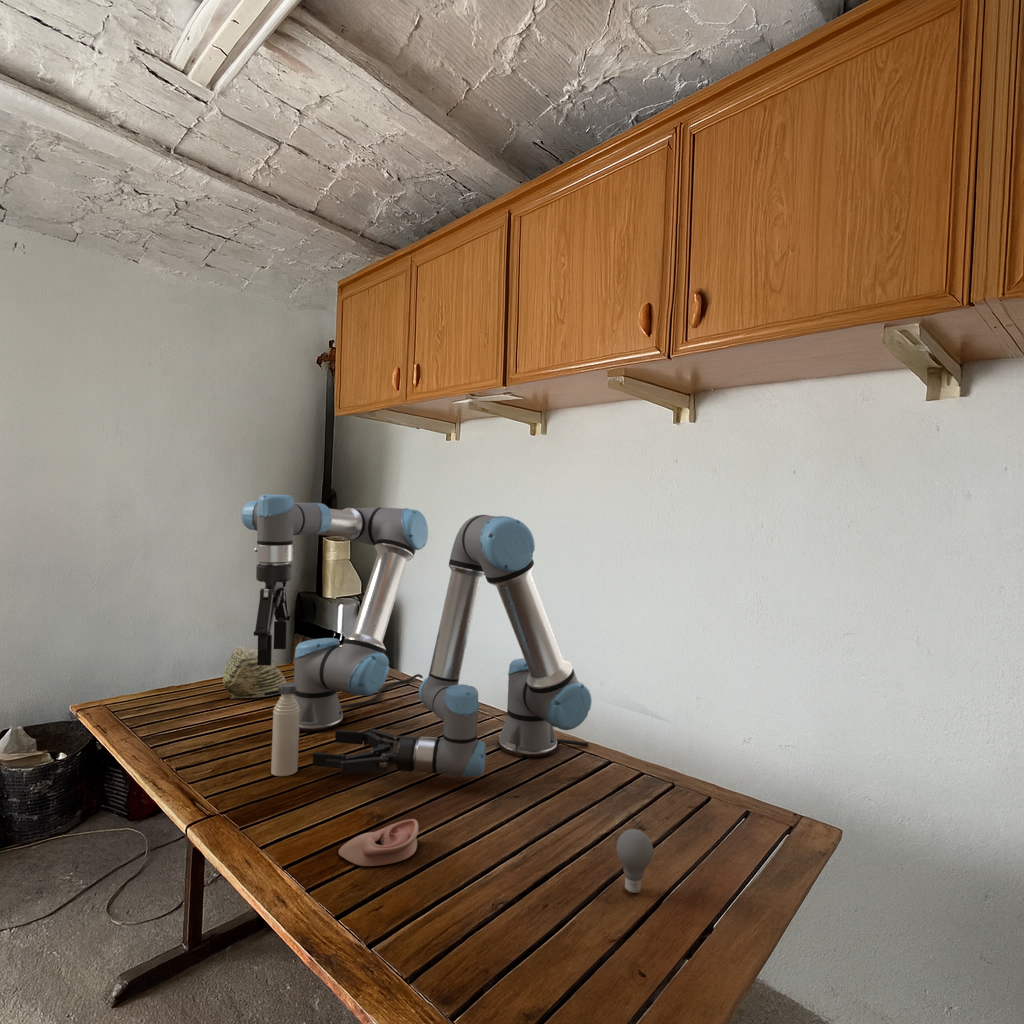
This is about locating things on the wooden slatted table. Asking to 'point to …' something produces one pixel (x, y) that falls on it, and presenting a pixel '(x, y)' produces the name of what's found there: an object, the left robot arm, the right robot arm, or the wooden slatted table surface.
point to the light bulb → (634, 857)
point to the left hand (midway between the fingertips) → (272, 656)
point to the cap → (287, 688)
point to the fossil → (250, 675)
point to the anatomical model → (382, 845)
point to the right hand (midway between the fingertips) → (325, 747)
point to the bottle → (285, 736)
